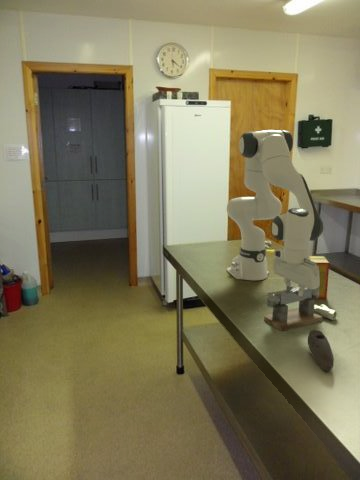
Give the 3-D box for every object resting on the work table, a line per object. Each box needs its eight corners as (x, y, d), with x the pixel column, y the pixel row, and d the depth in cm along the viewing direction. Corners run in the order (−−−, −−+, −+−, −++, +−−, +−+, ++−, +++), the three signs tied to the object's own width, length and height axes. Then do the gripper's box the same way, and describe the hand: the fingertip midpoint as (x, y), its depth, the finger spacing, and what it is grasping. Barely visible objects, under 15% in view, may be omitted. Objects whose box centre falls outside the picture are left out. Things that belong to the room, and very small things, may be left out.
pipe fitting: (319, 311, 144) (311, 315, 139) (320, 301, 143) (312, 305, 139) (339, 317, 138) (332, 321, 134) (341, 307, 138) (333, 311, 133)
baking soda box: (326, 299, 153) (329, 261, 150) (310, 298, 154) (312, 261, 151) (321, 290, 163) (323, 255, 159) (305, 290, 163) (307, 255, 160)
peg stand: (264, 319, 136) (264, 300, 135) (302, 310, 143) (303, 292, 142) (281, 331, 127) (282, 310, 126) (322, 320, 134) (323, 301, 133)
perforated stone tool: (338, 377, 101) (340, 354, 100) (318, 376, 102) (319, 353, 100) (323, 349, 116) (324, 328, 114) (305, 348, 116) (307, 328, 115)
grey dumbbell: (264, 304, 131) (264, 293, 131) (312, 293, 140) (312, 283, 139) (272, 308, 127) (272, 297, 127) (321, 296, 136) (321, 286, 135)
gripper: (325, 262, 122) (322, 301, 125) (284, 247, 140) (283, 282, 143) (310, 264, 119) (308, 305, 122) (270, 249, 137) (269, 285, 141)
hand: (294, 292), depth 133 cm, fingers open, 4 cm apart
